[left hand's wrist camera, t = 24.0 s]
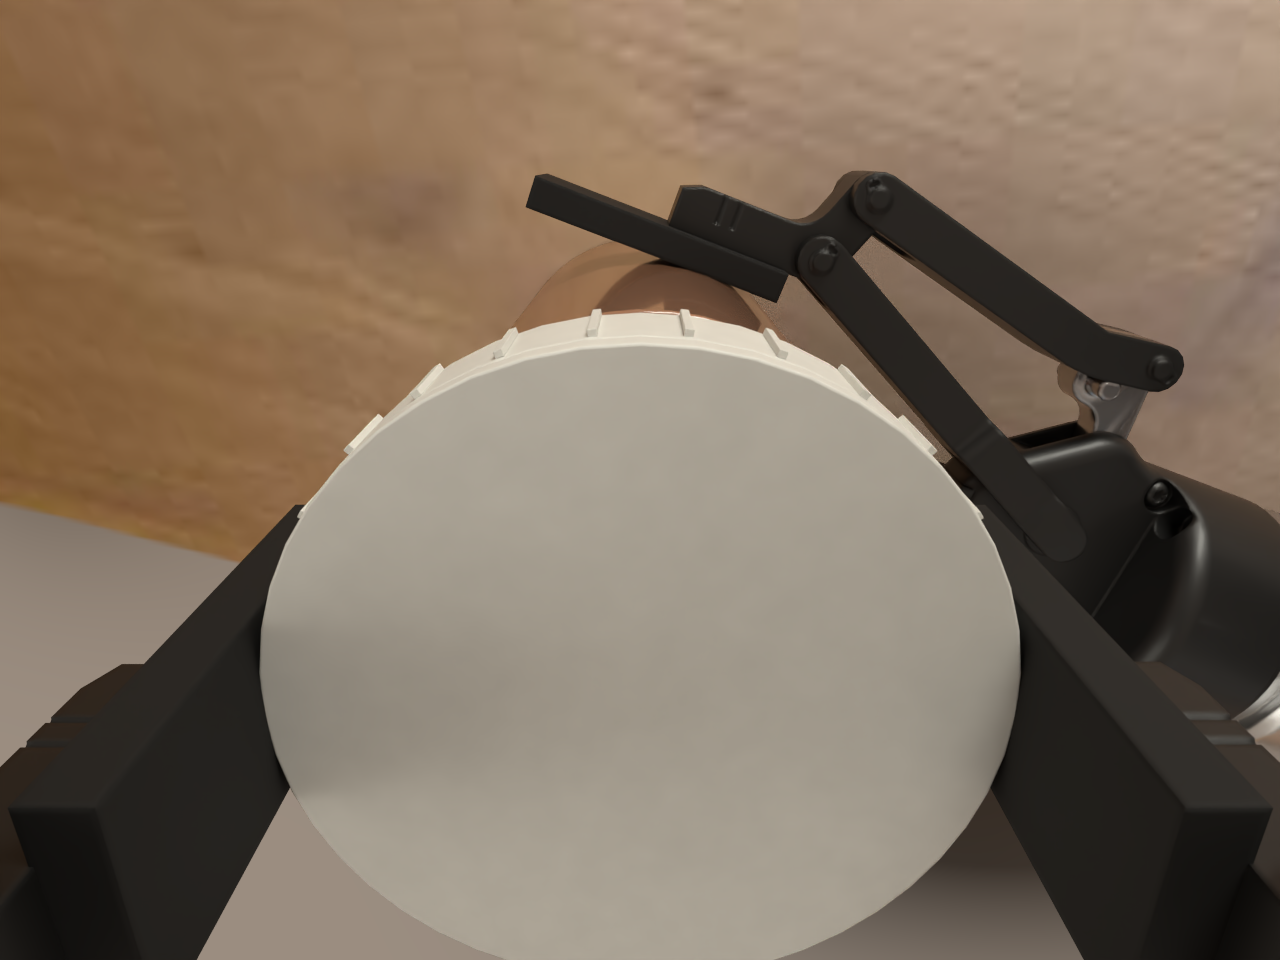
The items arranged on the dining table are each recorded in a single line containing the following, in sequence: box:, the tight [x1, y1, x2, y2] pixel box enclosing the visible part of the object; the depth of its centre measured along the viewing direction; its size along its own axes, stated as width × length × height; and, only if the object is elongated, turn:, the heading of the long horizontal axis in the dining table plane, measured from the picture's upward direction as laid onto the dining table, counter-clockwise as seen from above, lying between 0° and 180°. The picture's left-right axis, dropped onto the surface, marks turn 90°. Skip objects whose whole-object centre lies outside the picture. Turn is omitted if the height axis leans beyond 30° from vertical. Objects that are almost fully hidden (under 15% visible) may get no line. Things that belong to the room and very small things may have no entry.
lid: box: [259, 309, 1021, 960], centre depth 11 cm, size 10×10×2 cm
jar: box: [510, 241, 789, 343], centre depth 22 cm, size 9×9×15 cm
